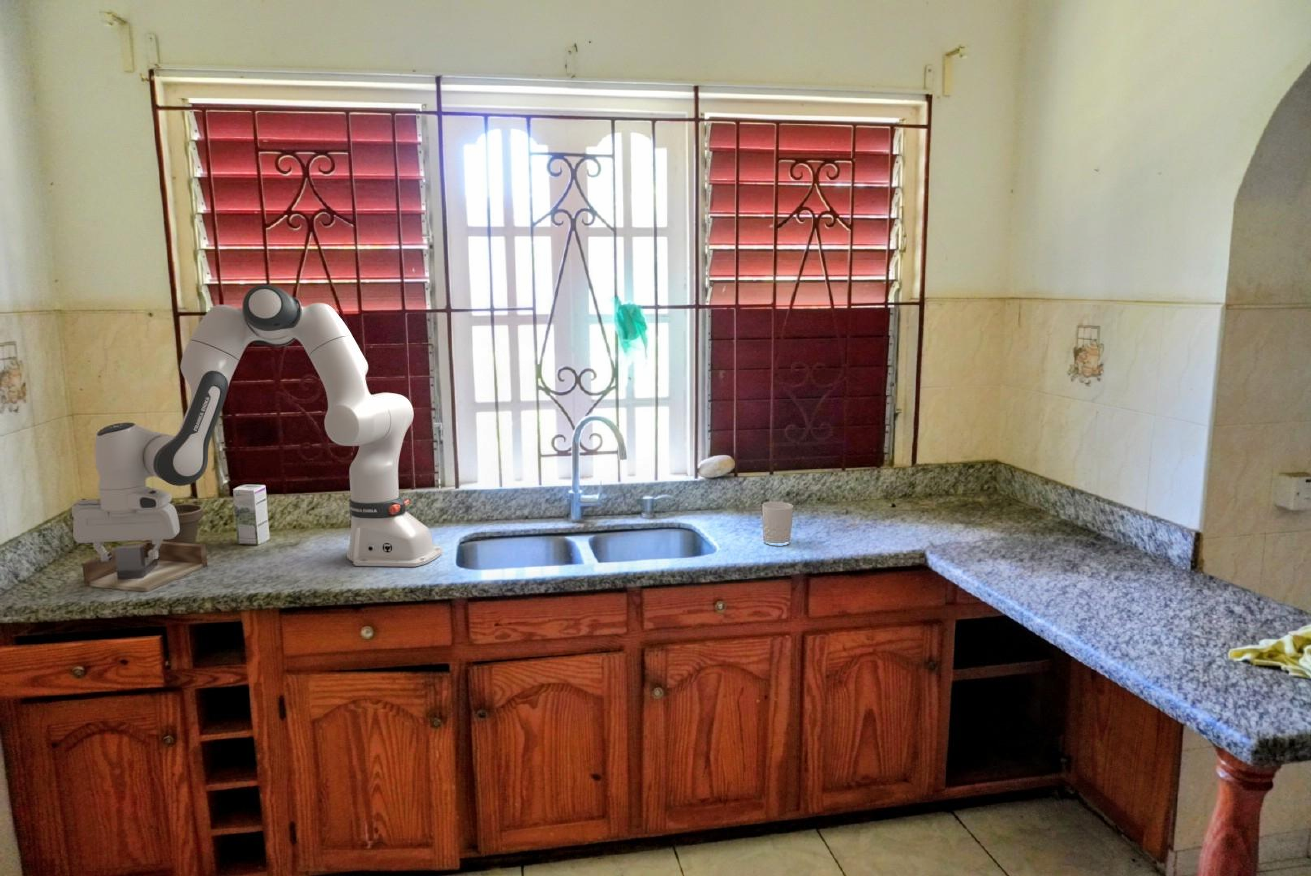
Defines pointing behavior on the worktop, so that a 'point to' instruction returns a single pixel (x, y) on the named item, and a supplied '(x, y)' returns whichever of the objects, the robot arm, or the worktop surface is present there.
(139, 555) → the angle bracket
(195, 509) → the flower pot
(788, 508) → the white cup
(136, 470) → the robot arm
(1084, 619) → the worktop surface
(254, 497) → the syrup box
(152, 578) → the corner arena
